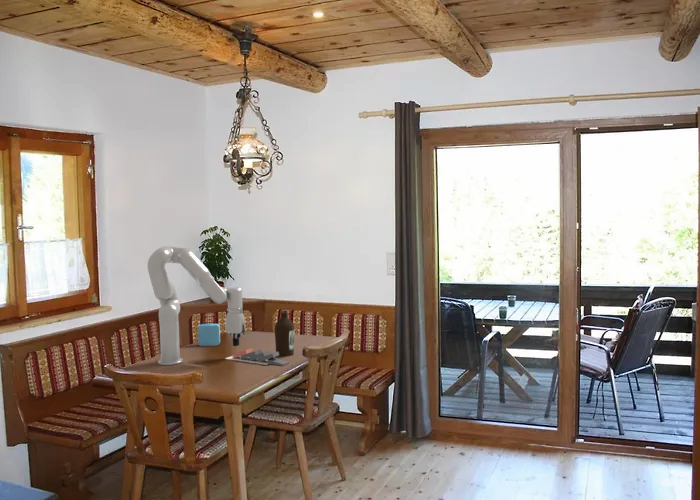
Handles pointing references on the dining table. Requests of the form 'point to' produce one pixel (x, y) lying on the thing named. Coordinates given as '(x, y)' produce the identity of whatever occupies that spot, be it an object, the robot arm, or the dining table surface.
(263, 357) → the domino
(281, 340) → the olive oil
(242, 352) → the red domino
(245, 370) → the dining table surface
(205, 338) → the light blue square slab
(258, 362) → the board
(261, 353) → the domino
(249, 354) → the domino
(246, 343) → the dining table surface
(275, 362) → the domino
